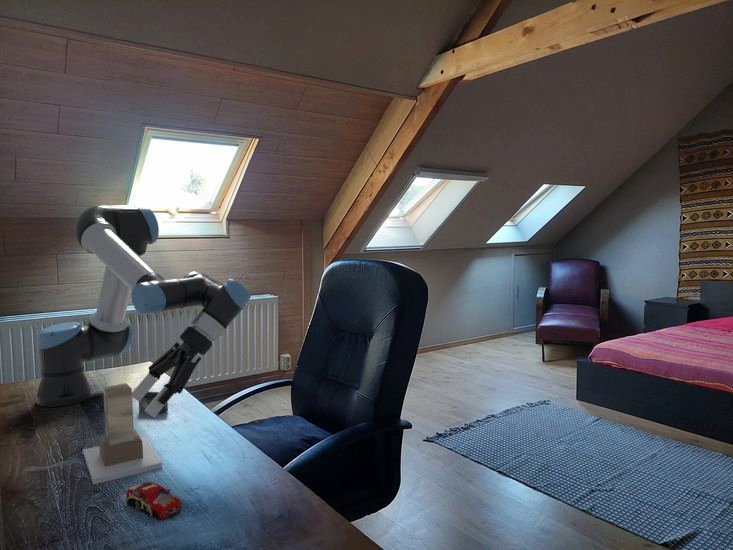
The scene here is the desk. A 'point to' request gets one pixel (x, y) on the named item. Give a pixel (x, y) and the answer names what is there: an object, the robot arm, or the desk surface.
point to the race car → (153, 500)
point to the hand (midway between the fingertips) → (141, 406)
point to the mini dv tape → (148, 399)
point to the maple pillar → (118, 413)
